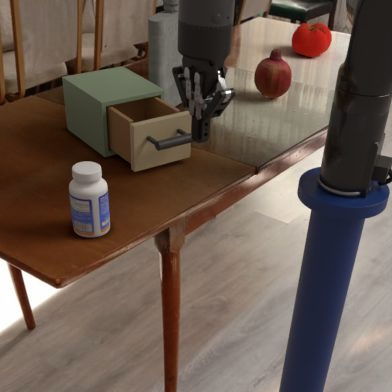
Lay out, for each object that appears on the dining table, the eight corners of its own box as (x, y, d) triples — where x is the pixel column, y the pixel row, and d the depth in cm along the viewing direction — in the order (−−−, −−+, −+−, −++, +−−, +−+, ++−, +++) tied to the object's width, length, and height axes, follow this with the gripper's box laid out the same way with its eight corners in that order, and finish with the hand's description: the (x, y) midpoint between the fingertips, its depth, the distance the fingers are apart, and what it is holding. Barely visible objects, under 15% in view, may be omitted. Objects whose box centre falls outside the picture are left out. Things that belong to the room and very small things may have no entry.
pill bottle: (102, 216, 95) (98, 155, 89) (116, 233, 91) (112, 171, 85) (67, 224, 93) (61, 162, 86) (80, 242, 89) (74, 178, 83)
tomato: (287, 56, 158) (290, 28, 154) (294, 45, 166) (298, 18, 162) (325, 61, 156) (330, 33, 152) (331, 49, 164) (336, 22, 160)
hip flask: (159, 118, 125) (159, 6, 112) (142, 113, 126) (140, 3, 113) (199, 95, 136) (203, -9, 122) (183, 91, 137) (185, -13, 124)
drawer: (204, 166, 107) (206, 121, 102) (148, 182, 102) (147, 135, 97) (149, 130, 118) (148, 88, 113) (95, 143, 113) (92, 99, 108)
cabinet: (164, 142, 116) (164, 89, 110) (104, 157, 110) (101, 102, 104) (124, 116, 125) (122, 66, 119) (67, 129, 119) (61, 76, 113)
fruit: (272, 89, 140) (278, 41, 133) (296, 100, 135) (303, 51, 129) (244, 95, 136) (248, 46, 130) (268, 107, 132) (273, 57, 125)
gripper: (258, 25, 82) (245, 151, 94) (200, 2, 90) (194, 121, 102) (212, 32, 79) (205, 162, 90) (156, 7, 87) (155, 130, 98)
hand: (199, 140), depth 96 cm, fingers closed
